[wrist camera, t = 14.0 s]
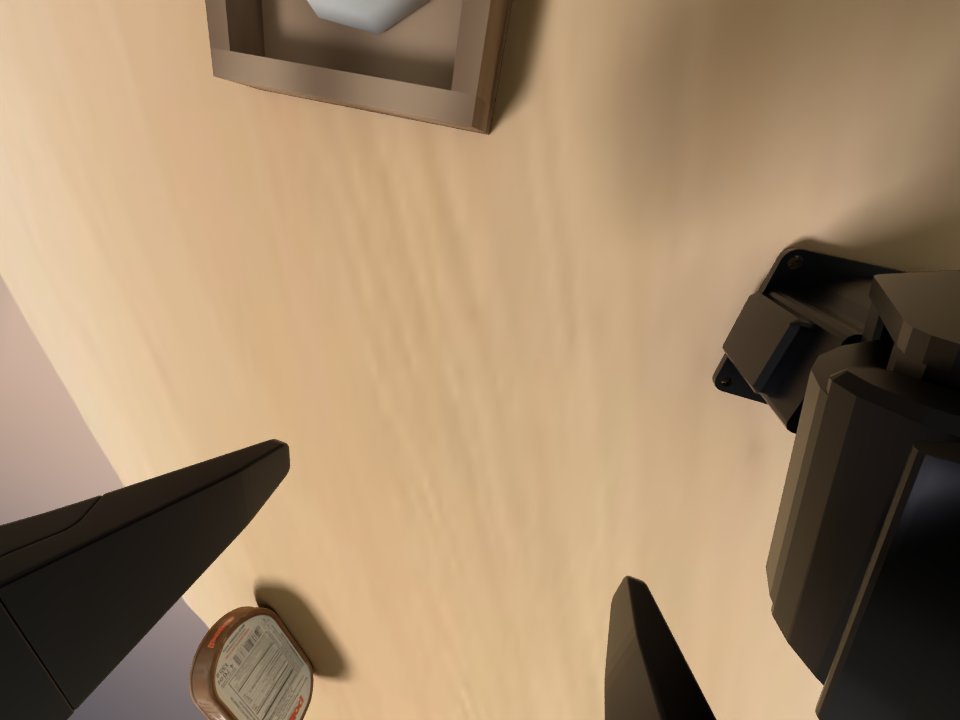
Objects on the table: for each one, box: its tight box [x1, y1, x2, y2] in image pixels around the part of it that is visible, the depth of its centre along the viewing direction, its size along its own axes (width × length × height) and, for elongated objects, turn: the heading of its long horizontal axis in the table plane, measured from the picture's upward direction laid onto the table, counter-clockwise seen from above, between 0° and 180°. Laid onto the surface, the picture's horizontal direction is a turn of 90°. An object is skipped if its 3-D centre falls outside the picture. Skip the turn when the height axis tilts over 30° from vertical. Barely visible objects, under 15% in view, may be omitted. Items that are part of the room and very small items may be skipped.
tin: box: [189, 607, 313, 720], centre depth 38 cm, size 15×3×8 cm, turn 20°
